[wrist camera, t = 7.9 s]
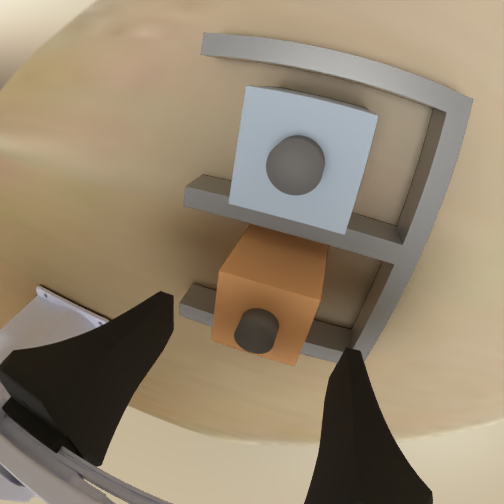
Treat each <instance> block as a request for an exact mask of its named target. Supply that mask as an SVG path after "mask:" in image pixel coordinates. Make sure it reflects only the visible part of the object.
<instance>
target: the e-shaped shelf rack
mask: <svg viewBox="0 0 504 504" xmlns="http://www.w3.org/2000/svg"><path fill="white" fill-rule="evenodd" d="M200 55H204V56H210V57H215V58H222V59H232V60H241V61H249V62H256V63H263V64H270V65H276V66H282V67H288V68H293V69H298V70H303V71H308V72H313V73H317V74H322V75H326V76H330V77H335V78H339V79H342V80H346V81H350V82H354V83H357V84H361V85H364V86H368V87H371V88H375V89H378V90H381V91H384V92H387V93H390V94H393V95H396V96H399V97H402V98H405V99H408V100H411V101H413V102H416V103H419V104H421V105H424V106H427V107H429V108H432V109H433V112H432V116H431V120H430V124H429V127H428V131H427V135H426V138H425V142H424V145H423V149H422V152H421V156H420V159H419V162H418V166H417V169H416V172H415V175H414V178H413V181H412V184H411V187H410V190H409V193H408V196H407V199H406V202H405V205H404V207H403V210H402V213H401V216H400V218H399V221H398V224H397V226H393V225H390V224H387V223H384V222H381V221H377V220H374V219H371V218H368V217H364V216H361V215H358V214H354V213H351V216H350V220H349V223H348V226H347V229H346V232H345V235H343V234H340V233H336V232H333V231H329V230H326V229H322V228H319V227H315V226H312V225H308V224H304V223H301V222H297V221H293V220H290V219H286V218H282V217H278V216H275V215H271V214H267V213H263V212H259V211H255V210H252V209H248V208H244V207H240V206H236V205H232V204H229V197H230V190H231V182H232V181H229V180H224V179H220V178H216V177H211V176H207V175H201V176H200V177H198V178H197V179H195V180H194V181H192V182H191V183H189V184H188V185H186V186H185V194H184V206H185V207H189V208H193V209H197V210H201V211H204V212H208V213H212V214H216V215H220V216H224V217H228V218H231V219H235V220H239V221H243V222H246V223H250V224H254V225H258V226H261V227H265V228H269V229H272V230H276V231H280V232H283V233H287V234H291V235H294V236H298V237H302V238H305V239H309V240H312V241H316V242H319V243H323V244H326V245H330V246H333V247H337V248H340V249H344V250H347V251H351V252H354V253H358V254H361V255H365V256H368V257H371V258H375V259H378V260H382V261H383V262H382V264H381V266H380V269H379V271H378V274H377V276H376V278H375V280H374V283H373V285H372V287H371V289H370V292H369V294H368V296H367V298H366V300H365V303H364V305H363V307H362V309H361V311H360V313H359V315H358V317H357V319H356V322H355V324H354V326H353V328H352V330H350V329H346V328H342V327H339V326H335V325H331V324H328V323H324V322H320V321H317V320H313V322H312V325H311V327H310V330H309V332H308V335H307V337H306V340H305V342H304V345H303V347H302V350H301V352H300V354H304V355H307V356H311V357H315V358H319V359H323V360H326V361H330V362H334V363H338V361H339V359H340V357H341V356H342V354H343V352H344V350H345V348H346V347H348V348H352V349H356V350H360V351H361V353H362V357H363V360H364V361H365V360H366V358H367V356H368V355H369V353H370V351H371V350H372V348H373V346H374V345H375V343H376V341H377V339H378V338H379V336H380V334H381V332H382V331H383V329H384V327H385V325H386V323H387V322H388V320H389V318H390V316H391V314H392V312H393V310H394V309H395V307H396V305H397V303H398V301H399V299H400V297H401V295H402V293H403V291H404V289H405V287H406V285H407V283H408V281H409V279H410V277H411V275H412V273H413V271H414V268H415V266H416V264H417V262H418V260H419V258H420V255H421V253H422V251H423V249H424V246H425V244H426V242H427V239H428V237H429V235H430V232H431V230H432V227H433V225H434V222H435V220H436V217H437V215H438V212H439V210H440V207H441V205H442V202H443V199H444V196H445V194H446V191H447V188H448V185H449V182H450V180H451V177H452V174H453V171H454V168H455V164H456V161H457V158H458V155H459V152H460V148H461V145H462V141H463V138H464V134H465V131H466V127H467V123H468V119H469V115H470V111H471V107H472V103H473V99H472V98H470V97H468V96H466V95H464V94H461V93H459V92H457V91H455V90H452V89H450V88H448V87H446V86H443V85H441V84H438V83H436V82H434V81H431V80H429V79H426V78H423V77H421V76H418V75H415V74H413V73H410V72H407V71H404V70H401V69H398V68H395V67H392V66H389V65H386V64H383V63H380V62H376V61H373V60H370V59H366V58H363V57H359V56H355V55H351V54H347V53H343V52H339V51H335V50H331V49H326V48H322V47H317V46H312V45H307V44H301V43H296V42H290V41H284V40H277V39H270V38H262V37H253V36H244V35H232V34H218V33H204V35H203V41H202V47H201V54H200ZM215 300H216V291H215V290H212V289H209V288H206V287H202V286H199V285H196V284H193V285H192V286H191V287H190V289H189V290H188V292H187V293H186V294H185V296H184V297H183V298H182V300H181V301H180V303H179V315H180V316H183V317H186V318H188V319H191V320H194V321H197V322H200V323H203V324H206V325H209V326H213V317H214V309H215Z"/></svg>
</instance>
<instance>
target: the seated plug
mask: <svg viewBox="0 0 504 504" xmlns="http://www.w3.org/2000/svg"><path fill="white" fill-rule="evenodd" d="M377 120H378V115H376V114H375V113H373V112H371V111H370V110H368V109H367V108H364V107H361V106H357V105H353V104H350V103H346V102H342V101H339V100H335V99H331V98H327V97H322V96H318V95H314V94H309V93H305V92H300V91H295V90H290V89H285V88H280V87H268V86H246V90H245V97H244V103H243V109H242V115H241V122H240V128H239V135H238V141H237V148H236V155H235V162H234V168H233V175H232V182H231V190H230V197H229V204H232V205H236V206H240V207H244V208H248V209H252V210H255V211H259V212H263V213H267V214H271V215H275V216H278V217H282V218H286V219H290V220H293V221H297V222H301V223H304V224H308V225H312V226H315V227H319V228H322V229H326V230H329V231H333V232H336V233H340V234H343V235H345V232H346V229H347V226H348V223H349V220H350V216H351V213H352V210H353V207H354V203H355V200H356V197H357V193H358V190H359V187H360V183H361V180H362V176H363V173H364V169H365V166H366V162H367V158H368V155H369V151H370V147H371V143H372V140H373V136H374V132H375V128H376V124H377Z"/></svg>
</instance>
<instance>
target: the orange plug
mask: <svg viewBox="0 0 504 504" xmlns="http://www.w3.org/2000/svg"><path fill="white" fill-rule="evenodd" d="M327 253H328V245H326V244H323V243H319V242H316V241H312V240H309V239H305V238H302V237H298V236H294V235H291V234H287V233H283V232H280V231H276V230H272V229H269V228H265V227H261V226H258V225H254V224H250V225H249V227H248V228H247V230H246V231H245V233H244V234H243V236H242V237H241V239H240V240H239V242H238V243H237V244H236V246H235V247H234V249H233V250H232V252H231V253H230V255H229V256H228V258H227V259H226V261H225V262H224V264H223V265H222V267H221V268H220V270H219V275H218V283H217V291H216V300H215V309H214V317H213V326H212V335H211V340H212V341H215V342H218V343H221V344H223V345H227V346H230V347H233V348H236V349H239V350H242V351H245V352H248V353H251V354H255V355H258V356H261V357H264V358H268V359H271V360H275V361H278V362H281V363H285V364H289V365H292V366H295V364H296V362H297V359H298V357H299V354H300V352H301V350H302V347H303V345H304V342H305V340H306V337H307V335H308V332H309V330H310V327H311V325H312V322H313V319H314V317H315V314H316V312H317V309H318V306H319V304H320V301H321V296H322V289H323V282H324V275H325V268H326V261H327Z"/></svg>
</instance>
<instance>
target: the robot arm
mask: <svg viewBox="0 0 504 504" xmlns="http://www.w3.org/2000/svg"><path fill="white" fill-rule="evenodd" d="M36 291H37V294H38V295H37V296H36V297H35V298H34V299H33V300H32V301H31V302H30V303H28V304H27V305H26V306H25V307H24V308H23V309H22V310H21V311H20V312H19V313H17V314H16V315H15V316H14V317H13V318H12V319H11V320H10V321H9V322H8V323H7V324H6V325H5V326H4V327H3V328H2V329H1V330H0V499H2V500H9V501H18V502H29V501H30V499H31V498H33V497H34V496H35V495H37V496H38V497H39V498H41V499H42V500H43V501H44V502H46V503H47V504H115V503H114V502H112V501H111V500H110V499H109V498H107V497H106V494H104V493H102V492H101V491H99V490H98V489H96V488H95V487H93V486H92V485H90V484H88V483H87V482H86V481H84V479H86V480H87V481H89V482H91V483H92V484H94V485H96V486H98V487H99V488H101V489H103V490H105V491H106V492H108V493H110V494H112V495H114V496H116V497H118V498H120V499H122V500H124V501H126V502H128V503H130V504H172V503H169V502H167V501H164V500H162V499H160V498H157V497H155V496H153V495H151V494H148V493H146V492H144V491H142V490H140V489H138V488H135V487H133V486H131V485H129V484H127V483H125V482H123V481H121V480H119V479H117V478H116V477H114V476H112V475H110V474H108V473H106V472H104V471H103V470H101V469H99V468H97V466H101V465H102V462H103V460H104V457H105V454H106V452H107V449H108V447H109V444H110V442H111V439H112V437H113V435H114V432H115V430H116V428H117V426H118V424H119V421H120V419H121V417H122V415H123V413H124V411H125V409H126V407H127V405H128V403H129V402H130V400H131V398H132V396H133V394H134V392H135V391H136V389H137V387H138V386H139V384H140V383H141V382H142V380H143V379H144V377H145V376H146V374H147V373H148V371H149V370H150V369H151V367H152V366H153V364H154V363H155V361H156V360H157V358H158V357H159V356H160V354H161V353H162V351H163V350H164V348H165V346H166V344H167V342H168V340H169V338H170V336H171V334H172V332H173V330H174V321H173V303H174V296H173V295H170V294H168V293H165V292H162V291H160V292H158V293H156V294H155V295H153V296H151V297H150V298H148V299H147V300H145V301H143V302H142V303H140V304H139V305H137V306H135V307H134V308H132V309H130V310H129V311H127V312H125V313H123V314H122V315H120V316H118V317H116V318H115V319H113V320H111V321H109V320H108V319H105V318H103V317H101V316H99V315H97V314H95V313H93V312H91V311H88V310H86V309H84V308H82V307H80V306H78V305H76V304H74V303H72V302H70V301H68V300H66V299H64V298H62V297H60V296H58V295H56V294H55V293H53V292H51V291H49V290H47V289H45V288H43V287H41V286H38V287H37V288H36ZM83 478H84V479H83ZM304 504H433V497H432V491H431V490H430V489H429V488H428V487H427V485H426V484H425V483H424V482H423V481H422V480H421V479H420V477H419V476H418V475H417V474H416V472H415V471H414V469H413V468H412V467H411V466H410V464H409V463H408V461H407V459H406V458H405V456H404V455H403V453H402V452H401V450H400V448H399V447H398V445H397V443H396V441H395V440H394V438H393V436H392V434H391V432H390V430H389V428H388V426H387V424H386V422H385V419H384V417H383V415H382V412H381V410H380V408H379V405H378V402H377V400H376V397H375V394H374V391H373V389H372V386H371V383H370V380H369V377H368V373H367V370H366V367H365V364H364V360H363V357H362V353H361V351H360V350H356V349H352V348H348V347H346V348H345V350H344V352H343V354H342V356H341V357H340V359H339V361H338V363H337V365H336V367H335V368H334V370H333V372H332V374H331V376H330V377H329V381H328V386H327V391H326V396H325V401H324V411H323V420H322V430H321V439H320V447H319V453H318V457H317V461H316V465H315V469H314V473H313V476H312V480H311V483H310V487H309V490H308V493H307V497H306V500H305V502H304Z"/></svg>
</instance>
